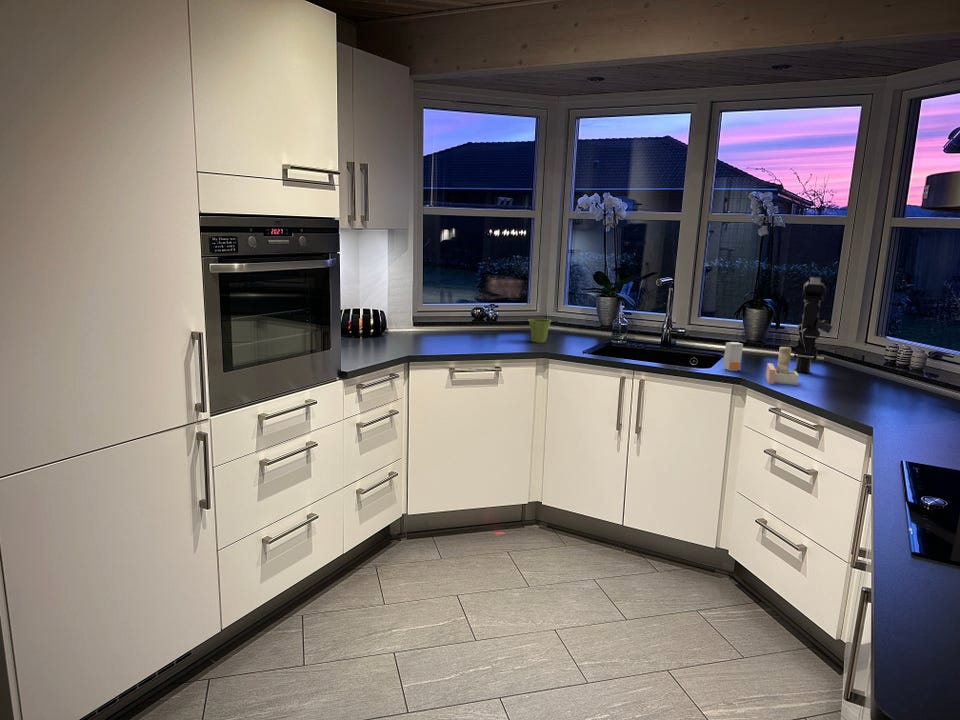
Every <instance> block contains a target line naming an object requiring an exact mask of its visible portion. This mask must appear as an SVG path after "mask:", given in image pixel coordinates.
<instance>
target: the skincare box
mask: <svg viewBox="0 0 960 720" xmlns="http://www.w3.org/2000/svg"><path fill="white" fill-rule="evenodd" d="M743 348H744V343H740V342H738V341H737V342H736V341H735V342H734V341H730V342H727V341H726V342H725V348H724V356H723V363H722V364H723V365H722V369H723V370H725V369H727V370H726V371H728V370H729V371H738V370H739V371H740V370H741V363H742V357H743V356H742V355H743Z"/></svg>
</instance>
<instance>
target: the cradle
mask: <svg viewBox="0 0 960 720" xmlns="http://www.w3.org/2000/svg"><path fill="white" fill-rule="evenodd" d="M775 370H776V372H775V379H774V384H780V385H781V384H782V385H790V386H798V385H799V379H800V376H799V372H796V371H794V370H789V372H788V374H782V373H777V368H775Z"/></svg>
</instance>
